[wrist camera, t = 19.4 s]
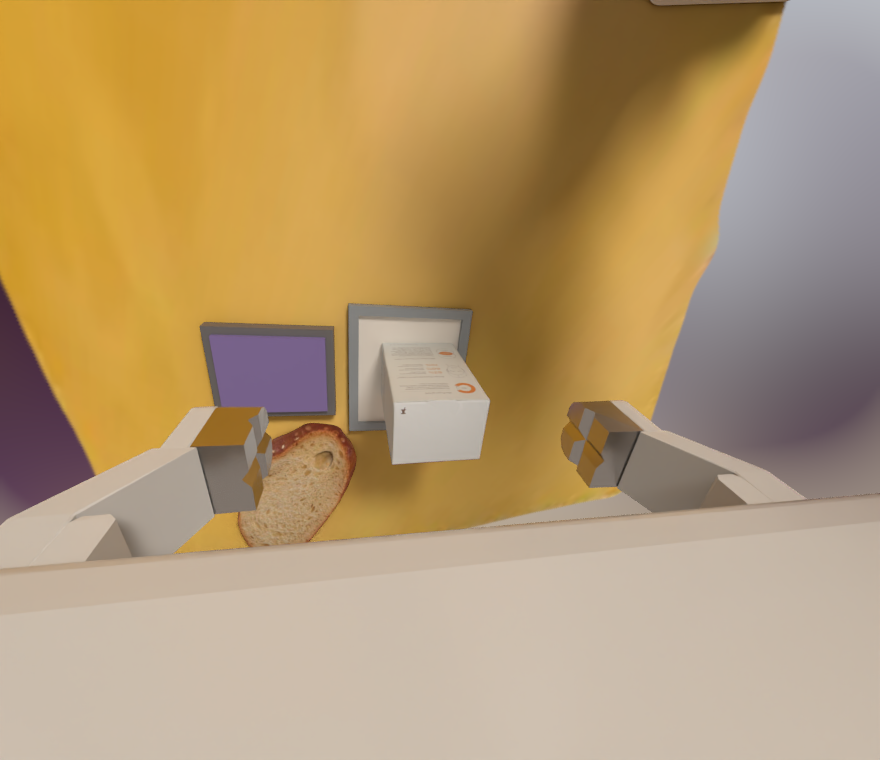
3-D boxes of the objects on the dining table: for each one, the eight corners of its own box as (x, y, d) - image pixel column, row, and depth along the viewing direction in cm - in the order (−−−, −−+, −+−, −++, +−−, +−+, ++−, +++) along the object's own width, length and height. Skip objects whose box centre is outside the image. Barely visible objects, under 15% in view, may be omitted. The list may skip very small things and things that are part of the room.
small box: (380, 393, 42) (389, 466, 31) (381, 341, 39) (391, 401, 28) (448, 391, 44) (481, 460, 32) (454, 342, 41) (491, 398, 30)
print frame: (470, 309, 40) (472, 311, 39) (454, 424, 47) (456, 427, 46) (348, 303, 37) (348, 305, 36) (349, 427, 44) (349, 431, 43)
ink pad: (333, 326, 38) (333, 331, 36) (335, 409, 42) (335, 417, 41) (204, 322, 35) (197, 327, 34) (220, 411, 39) (215, 419, 38)
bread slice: (268, 557, 51) (262, 582, 48) (189, 464, 42) (174, 487, 39) (390, 511, 52) (392, 532, 48) (336, 410, 43) (335, 428, 39)
